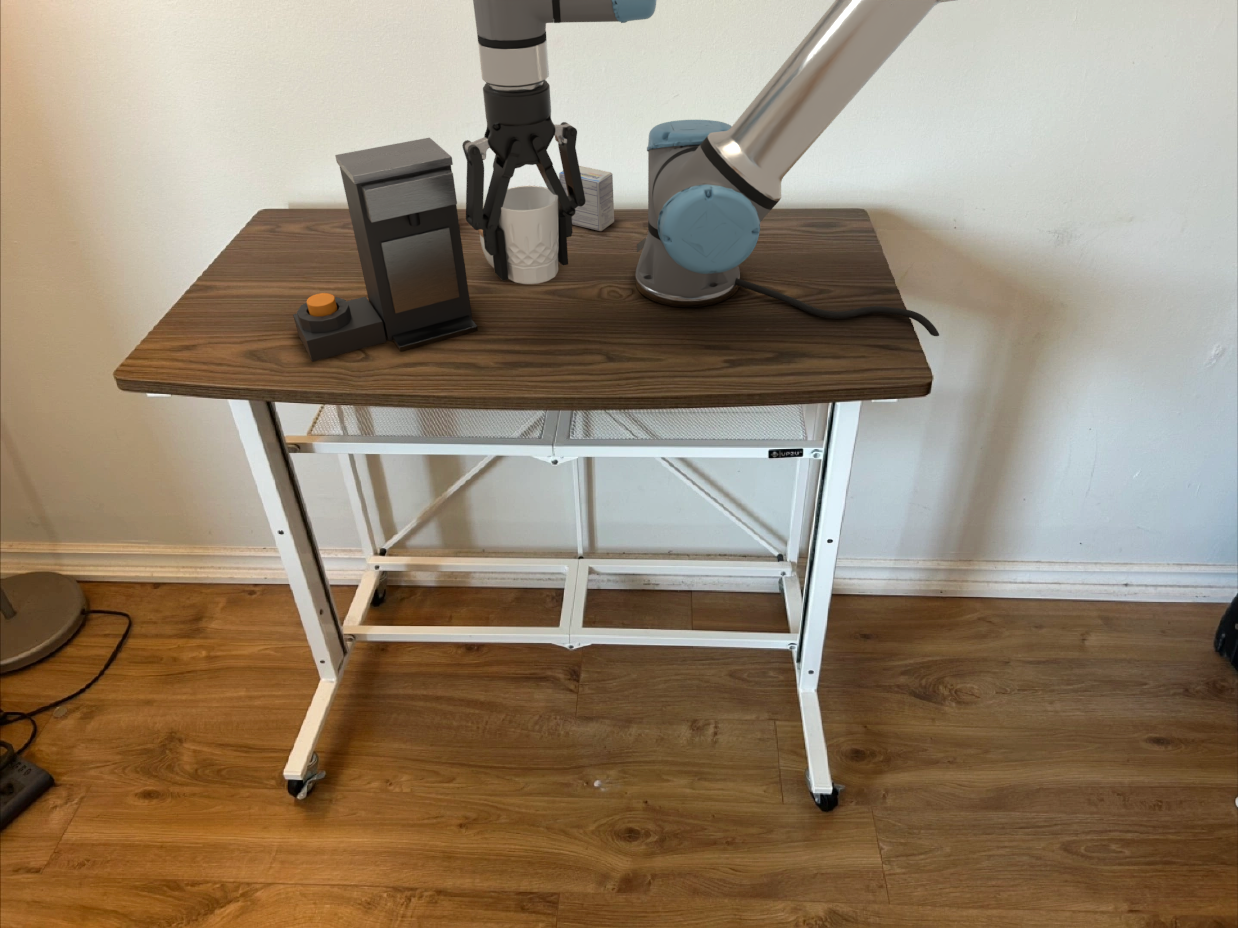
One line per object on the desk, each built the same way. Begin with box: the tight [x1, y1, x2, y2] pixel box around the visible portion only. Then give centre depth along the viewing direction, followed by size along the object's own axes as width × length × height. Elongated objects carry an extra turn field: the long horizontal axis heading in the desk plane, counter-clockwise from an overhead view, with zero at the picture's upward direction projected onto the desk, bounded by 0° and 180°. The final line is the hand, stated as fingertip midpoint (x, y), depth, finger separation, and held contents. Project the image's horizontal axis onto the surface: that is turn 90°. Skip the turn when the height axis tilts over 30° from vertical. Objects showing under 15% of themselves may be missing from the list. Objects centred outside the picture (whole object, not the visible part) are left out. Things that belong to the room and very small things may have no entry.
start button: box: [306, 292, 337, 316], centre depth 117 cm, size 4×4×2 cm
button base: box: [292, 296, 388, 362], centre depth 119 cm, size 10×8×5 cm
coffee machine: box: [334, 137, 479, 353], centre depth 117 cm, size 12×12×23 cm
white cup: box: [498, 185, 559, 285], centre depth 111 cm, size 8×8×10 cm
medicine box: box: [558, 165, 615, 232], centre depth 146 cm, size 8×4×9 cm, turn 58°
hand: (531, 268), depth 114 cm, fingers closed on white cup, 8 cm apart
